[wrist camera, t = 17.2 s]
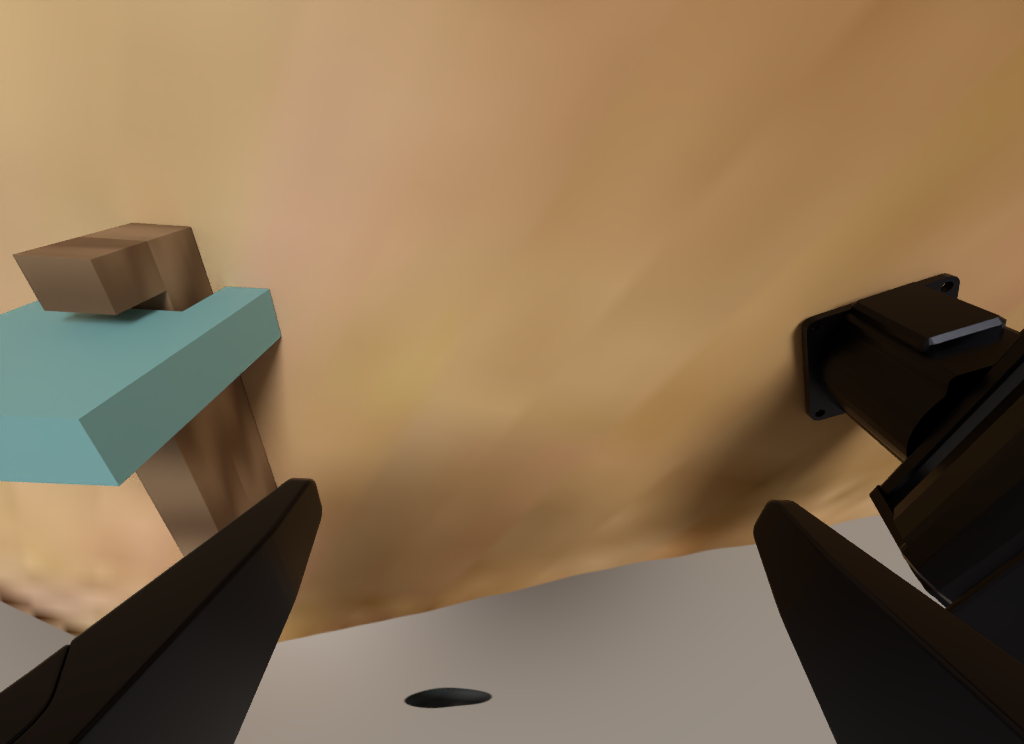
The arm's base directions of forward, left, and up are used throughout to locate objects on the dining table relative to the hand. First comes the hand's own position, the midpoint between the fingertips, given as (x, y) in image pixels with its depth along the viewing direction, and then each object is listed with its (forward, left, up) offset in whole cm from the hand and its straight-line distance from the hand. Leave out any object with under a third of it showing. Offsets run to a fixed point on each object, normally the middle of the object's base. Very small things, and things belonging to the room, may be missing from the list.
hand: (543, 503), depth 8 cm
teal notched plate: (+5, +15, -13) cm, 21 cm away
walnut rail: (0, +18, -13) cm, 22 cm away
